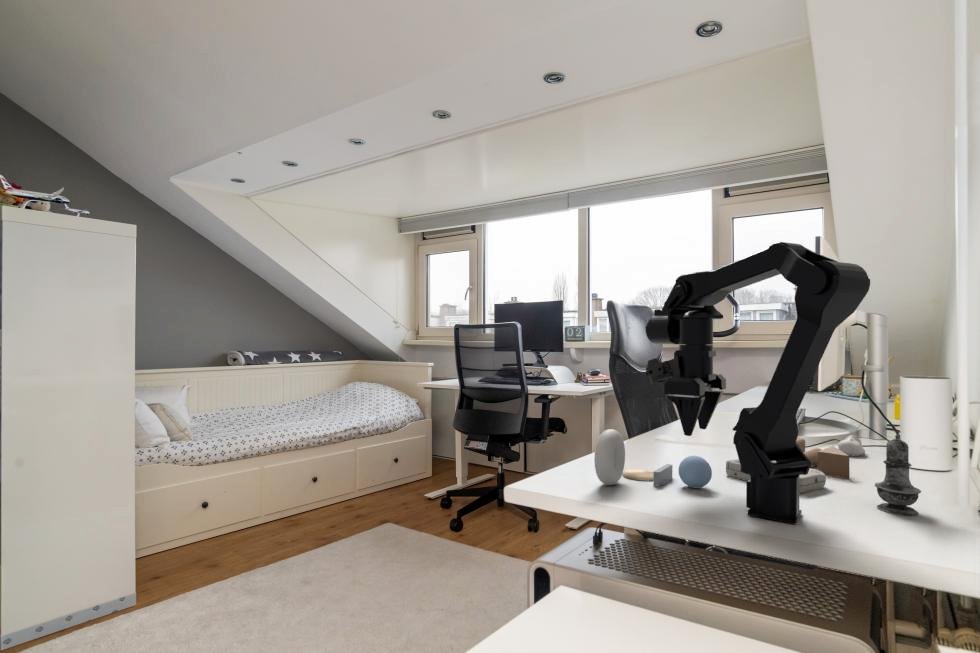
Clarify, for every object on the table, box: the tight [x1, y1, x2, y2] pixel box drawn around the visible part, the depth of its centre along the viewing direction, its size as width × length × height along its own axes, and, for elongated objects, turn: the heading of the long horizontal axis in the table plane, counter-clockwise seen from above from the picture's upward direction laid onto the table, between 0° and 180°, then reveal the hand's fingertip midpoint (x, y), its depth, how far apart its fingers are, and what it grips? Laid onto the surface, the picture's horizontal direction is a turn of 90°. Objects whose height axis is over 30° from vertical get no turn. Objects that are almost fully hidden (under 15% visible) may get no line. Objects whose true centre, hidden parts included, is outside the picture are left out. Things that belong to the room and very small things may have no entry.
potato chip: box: [622, 469, 654, 482], centre depth 104 cm, size 7×7×1 cm
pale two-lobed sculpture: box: [837, 434, 866, 457], centre depth 128 cm, size 4×8×5 cm
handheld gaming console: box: [725, 458, 827, 495], centre depth 102 cm, size 9×4×15 cm
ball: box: [678, 455, 713, 489], centre depth 97 cm, size 6×6×6 cm
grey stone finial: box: [874, 433, 922, 517], centre depth 86 cm, size 6×6×12 cm
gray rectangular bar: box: [652, 463, 673, 487], centre depth 101 cm, size 1×8×2 cm, turn 143°
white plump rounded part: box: [594, 428, 626, 486], centre depth 98 cm, size 10×4×10 cm, turn 149°
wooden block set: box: [796, 436, 851, 480], centre depth 116 cm, size 17×6×18 cm
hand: (695, 432), depth 97 cm, fingers open, 9 cm apart
